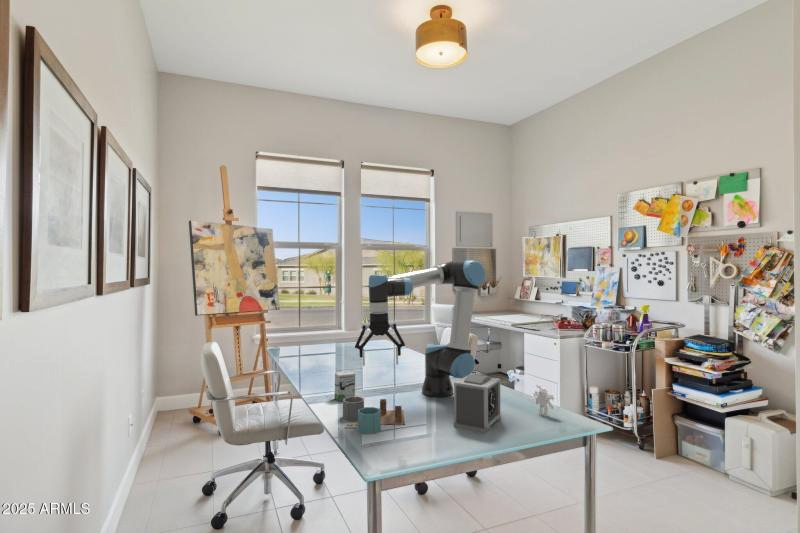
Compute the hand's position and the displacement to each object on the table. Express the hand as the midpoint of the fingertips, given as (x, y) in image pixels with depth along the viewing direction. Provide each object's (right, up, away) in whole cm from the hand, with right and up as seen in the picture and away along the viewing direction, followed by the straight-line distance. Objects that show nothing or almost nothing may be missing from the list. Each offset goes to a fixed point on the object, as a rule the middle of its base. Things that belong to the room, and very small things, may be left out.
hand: (380, 364), depth 173 cm
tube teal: (-4, -21, -14) cm, 26 cm away
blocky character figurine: (+67, -21, +1) cm, 70 cm away
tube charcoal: (-11, -21, -1) cm, 24 cm away
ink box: (-18, -22, +24) cm, 37 cm away
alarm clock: (+38, -21, -7) cm, 44 cm away
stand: (+4, -21, -2) cm, 22 cm away
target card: (-10, -21, -11) cm, 25 cm away
